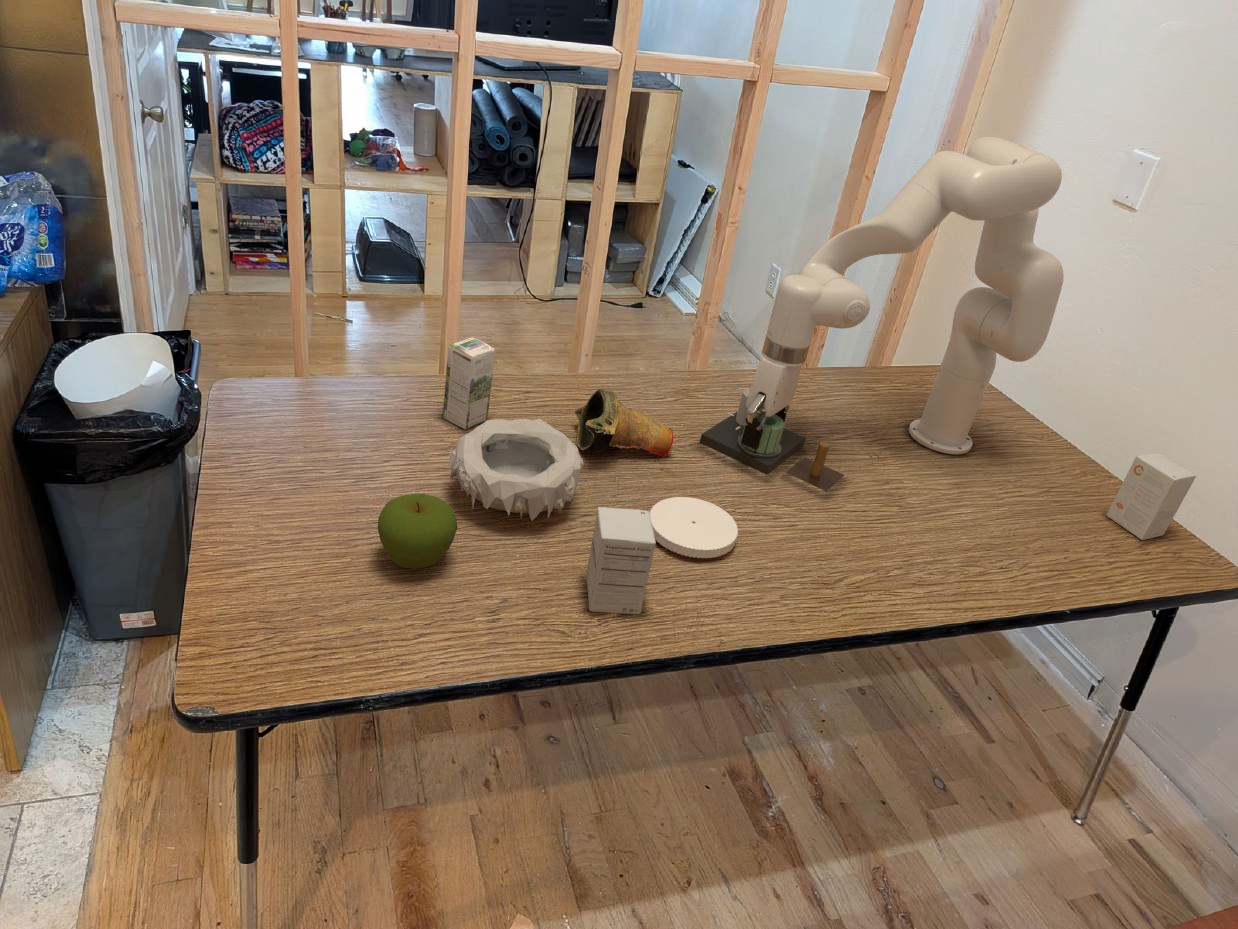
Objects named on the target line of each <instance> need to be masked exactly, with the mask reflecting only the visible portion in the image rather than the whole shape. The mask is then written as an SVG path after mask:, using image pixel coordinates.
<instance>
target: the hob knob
mask: <svg viewBox="0 0 1238 929" xmlns="http://www.w3.org/2000/svg"><path fill="white" fill-rule="evenodd" d="M749 391H750V388H746V389H743V390H742V393H741V397H740V401H739V405H738V408H737V411H738V412H737V411H736V412H737V416H736V422H737V423H738V424H739V425H741V426H745V422H746V411H747V410H748V409H747V408H746V401H747V398H748V394H749ZM759 410H760V411H764V409H762V408H760V409H759Z"/></svg>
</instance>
